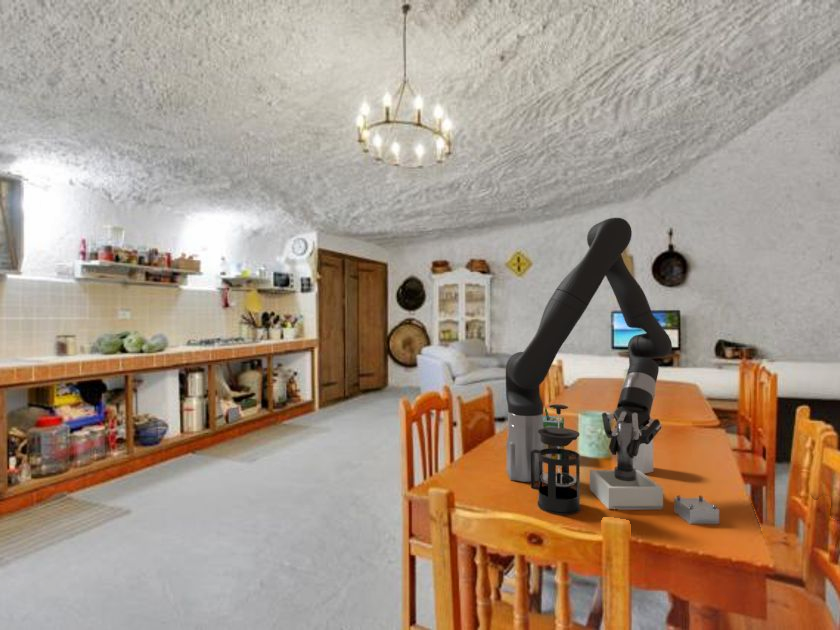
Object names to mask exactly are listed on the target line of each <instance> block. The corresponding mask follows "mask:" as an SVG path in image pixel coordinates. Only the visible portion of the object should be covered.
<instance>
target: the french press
mask: <svg viewBox="0 0 840 630" xmlns="http://www.w3.org/2000/svg"><path fill="white" fill-rule="evenodd" d="M548 407H549V408H550V409H556V415H557V417H558V428H543V429H540V430H539V431H538V433H539V434H540V441H541V442H542V443H544V444H547V445H551V446H558V448H546V449H542V450H535V449H534V450H532V451H531V482H530V488H531V490H535V491H538V500H537V506H538V508H539V509H540V510H542V511H544V512H545V513H549V514H552V515H557V516H558V515H559V516H572V515H577V514H579V512H580V511H581V510H582V506H581V504H580V502H581V497H580V496H581V495H580V493H581V492H580V487H581V485H580V477H581V476H580V473H581V472H580V466H581V465H580V459H581V458H580V453H578V452H577V451H574V450H571V449H567V448H565V447H567V446H569V445H570V444H571V443H572V442H573V441H576V440H577V439H578V438H579V437H580V432H579V431H577V430H574V429H571V428H566V427H564V428H559V417H560V415H561V414H562V410H566V409H569V406H568V405H565V404H559V403H558V404H555V403H554V404H550V405H548ZM560 447H564V449H561V448H560ZM535 453H538V458H539V481H538V485H536V482H535ZM545 454H558V459H552V458H547V457H544V456H542V455H545ZM560 454H562V460H560ZM570 457H572V458H571V459H570ZM542 462H543V464H547V472H543V474H542ZM570 466H575V468H576V469H575V471H576V472H575V473H576V474H575V476H574V475H573V474H570ZM556 467H557V468H556ZM560 468H561V471H560ZM556 469H557V470H556ZM543 484H545V485H543ZM573 487H576V489H575V488H573Z"/></svg>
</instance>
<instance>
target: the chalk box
mask: <svg viewBox="0 0 840 630" xmlns="http://www.w3.org/2000/svg"><path fill="white" fill-rule="evenodd" d="M544 413H545V415H543V428H558V416H552V415H550V414H549V412H548V409H547V407H546V406H544ZM559 428H565V418H564V416H563V417H562V416H559ZM546 448H558V446H551V445H547V444H544V443H543V449H546ZM560 448H561V449H565V446H564V447H560ZM543 456H544V457H547V458H552V459H558V454H545V455H543ZM560 460H562V454H560Z"/></svg>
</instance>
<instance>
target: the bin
mask: <svg viewBox="0 0 840 630" xmlns="http://www.w3.org/2000/svg"><path fill="white" fill-rule="evenodd" d="M589 490H590V491H591V492H592V493H593V494H594V495H595V497H596V498H597V499H598V500H599V501H600V502H601V503H602V504H603V506H605V508H606V509H608V510H609V509H614V510H615V509H618V510H620V511H622V510H625V511H628V510H630V511H631V510H633V511H634V510H635V511H636V510H637V511H638V510H641V511H643V510H646V511H647V510H648V511H649V510H650V511H651V510H653V511H656V510H657V511H658V510H661V511H662V510H664V487H663V486H661V485H659V483H656V482H655V481H654V480H653V479H651V478H650V477H648V476H647V475H646V474H643V473H642V472H640V471H639V470H636V480H634V481H622V480H619V479H616V478H615V469H589ZM614 510H613V511H614ZM618 510H617V511H618Z"/></svg>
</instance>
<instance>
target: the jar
mask: <svg viewBox="0 0 840 630" xmlns="http://www.w3.org/2000/svg"><path fill="white" fill-rule="evenodd" d="M648 427H649V425H648V424H647V425H646V426H645V427H643V428H642V429H641V436H642V435H643V434H644V432H645V431H646V430H647V429H648ZM633 468H634V469H635V470H639V471H640V472H642V473H643V474H644V475H646V474H649V473H653V472H654V438H653V439H652V441H651V442H650V443H649V444H645V443H643V444H640V446H639V450H638V454H637V456H634V458H633Z"/></svg>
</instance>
